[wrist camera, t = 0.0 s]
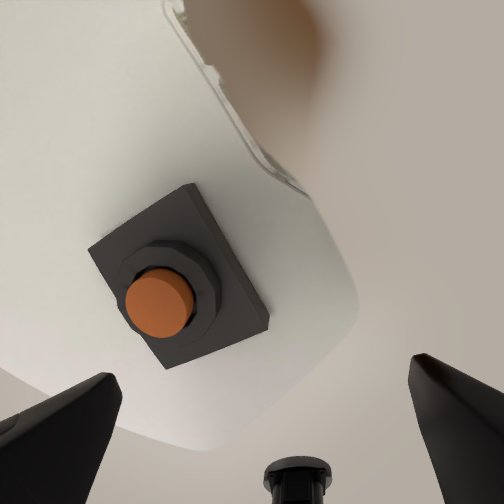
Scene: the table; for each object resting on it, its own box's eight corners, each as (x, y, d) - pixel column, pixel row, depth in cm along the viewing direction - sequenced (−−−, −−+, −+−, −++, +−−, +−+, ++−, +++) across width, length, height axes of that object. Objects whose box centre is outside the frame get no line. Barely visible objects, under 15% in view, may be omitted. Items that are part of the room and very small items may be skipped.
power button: (205, 311, 20) (199, 324, 18) (158, 333, 21) (148, 346, 19) (172, 257, 19) (162, 266, 17) (126, 283, 20) (113, 293, 18)
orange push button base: (269, 315, 23) (266, 343, 20) (174, 355, 25) (158, 383, 21) (193, 182, 21) (174, 186, 17) (101, 242, 23) (73, 256, 19)
